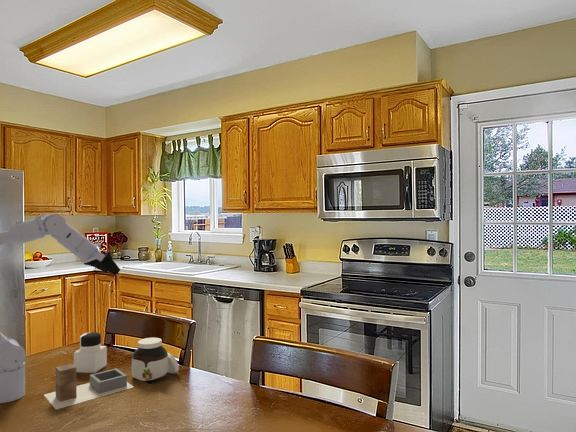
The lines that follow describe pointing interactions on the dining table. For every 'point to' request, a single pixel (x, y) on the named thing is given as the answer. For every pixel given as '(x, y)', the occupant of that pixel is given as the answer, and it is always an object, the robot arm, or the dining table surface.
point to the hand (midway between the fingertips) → (113, 271)
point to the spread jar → (152, 361)
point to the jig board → (94, 388)
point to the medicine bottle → (90, 354)
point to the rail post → (66, 382)
